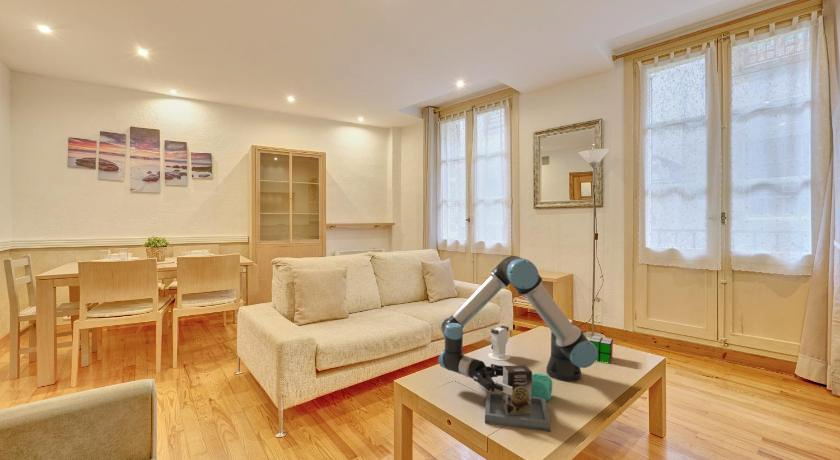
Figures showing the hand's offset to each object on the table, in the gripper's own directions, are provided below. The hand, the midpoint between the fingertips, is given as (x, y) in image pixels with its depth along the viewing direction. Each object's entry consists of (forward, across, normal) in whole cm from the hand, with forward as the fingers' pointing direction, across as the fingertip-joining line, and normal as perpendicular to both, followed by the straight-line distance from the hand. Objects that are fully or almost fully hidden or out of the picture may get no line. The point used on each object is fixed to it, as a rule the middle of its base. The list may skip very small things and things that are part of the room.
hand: (521, 384), depth 136 cm
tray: (-2, 0, -12) cm, 12 cm away
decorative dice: (-1, -19, -12) cm, 22 cm away
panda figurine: (-35, -46, -12) cm, 59 cm away
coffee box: (-2, 0, -11) cm, 11 cm away
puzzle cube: (+4, -80, -12) cm, 81 cm away
